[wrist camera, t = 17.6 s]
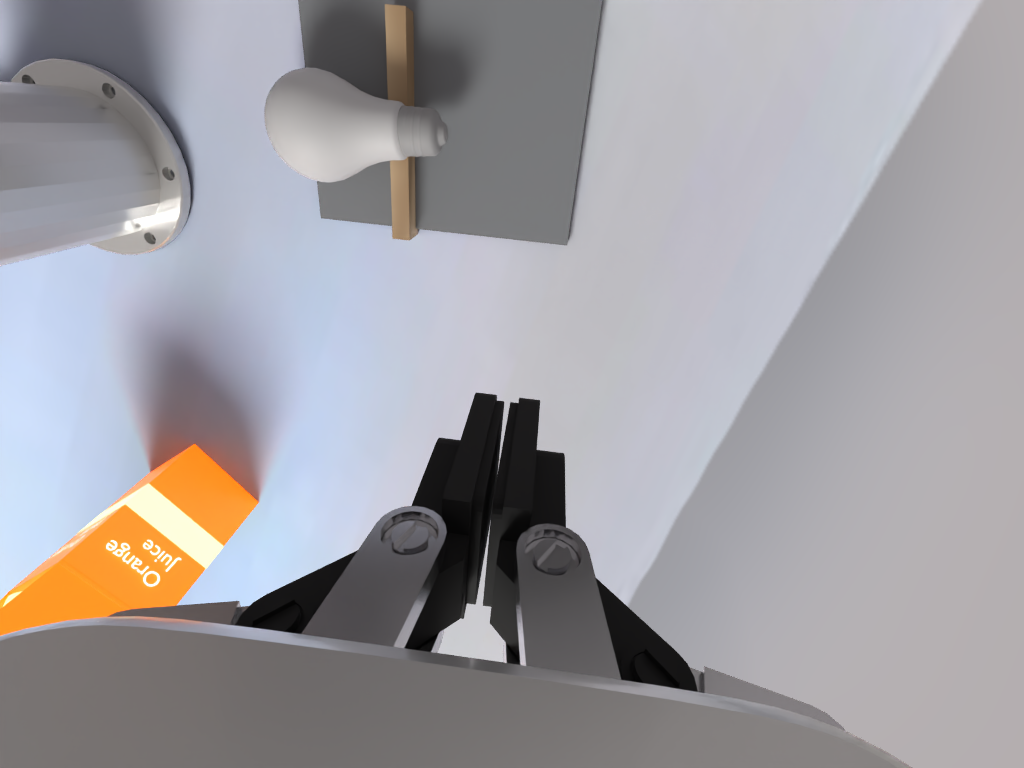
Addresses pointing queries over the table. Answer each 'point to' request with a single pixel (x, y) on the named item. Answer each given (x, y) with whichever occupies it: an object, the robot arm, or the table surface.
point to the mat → (471, 109)
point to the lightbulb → (344, 126)
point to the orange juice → (136, 547)
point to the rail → (403, 91)
